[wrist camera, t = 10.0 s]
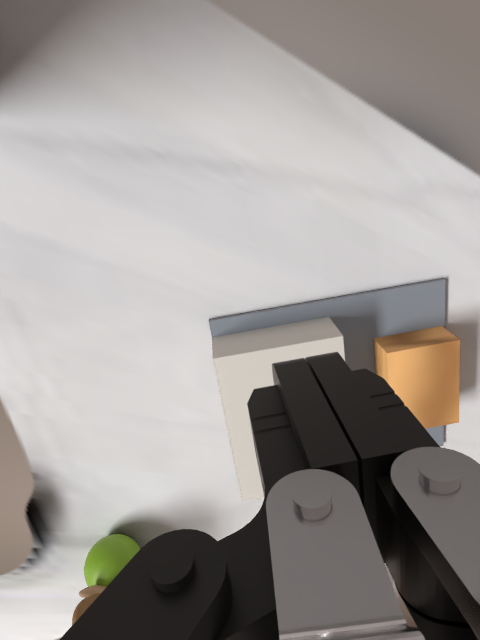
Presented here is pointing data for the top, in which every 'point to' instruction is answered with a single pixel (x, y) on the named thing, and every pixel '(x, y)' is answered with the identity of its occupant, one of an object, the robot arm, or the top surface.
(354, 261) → the top surface
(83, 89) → the top surface
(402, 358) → the orange flat block
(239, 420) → the white rectangular block
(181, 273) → the top surface
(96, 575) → the green maraca
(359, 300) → the mat
